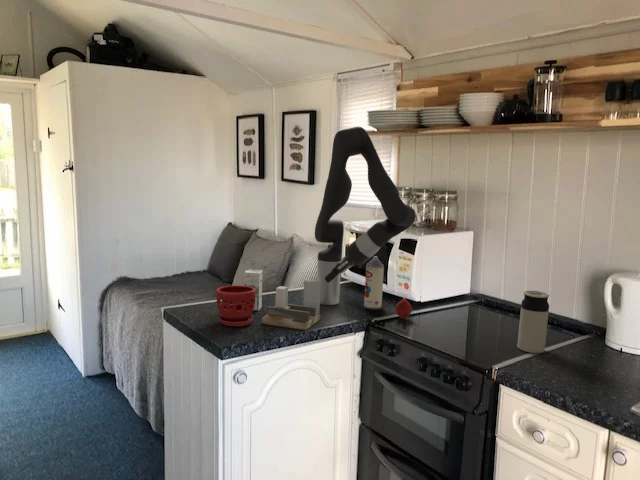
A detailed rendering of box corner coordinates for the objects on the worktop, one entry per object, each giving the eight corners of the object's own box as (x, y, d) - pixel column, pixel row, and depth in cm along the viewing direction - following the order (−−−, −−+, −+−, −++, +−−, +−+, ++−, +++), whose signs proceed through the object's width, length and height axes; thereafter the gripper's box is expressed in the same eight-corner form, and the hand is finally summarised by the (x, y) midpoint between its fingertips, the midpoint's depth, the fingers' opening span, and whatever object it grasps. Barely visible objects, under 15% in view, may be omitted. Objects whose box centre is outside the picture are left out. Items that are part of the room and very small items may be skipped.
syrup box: (261, 307, 204) (262, 269, 202) (258, 311, 198) (259, 272, 196) (247, 306, 204) (247, 268, 202) (243, 310, 198) (244, 271, 196)
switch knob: (277, 311, 191) (278, 285, 190) (290, 313, 190) (291, 287, 188) (272, 314, 187) (272, 288, 186) (285, 316, 186) (286, 289, 184)
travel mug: (516, 351, 166) (522, 294, 164) (517, 343, 174) (522, 289, 171) (544, 355, 163) (550, 297, 161) (543, 347, 171) (549, 292, 168)
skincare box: (319, 310, 202) (320, 279, 200) (319, 314, 198) (320, 281, 196) (303, 310, 202) (304, 278, 200) (302, 313, 198) (303, 281, 196)
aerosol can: (361, 305, 213) (364, 255, 210) (377, 304, 215) (380, 254, 212) (368, 309, 206) (370, 258, 203) (384, 308, 208) (387, 258, 205)
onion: (407, 322, 192) (408, 300, 191) (392, 319, 195) (393, 297, 194) (413, 318, 197) (414, 297, 195) (398, 315, 200) (400, 294, 198)
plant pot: (261, 320, 187) (262, 287, 185) (241, 331, 175) (242, 295, 173) (230, 315, 192) (230, 282, 190) (208, 324, 180) (208, 289, 178)
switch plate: (278, 313, 197) (279, 299, 196) (320, 319, 191) (320, 305, 191) (262, 323, 183) (262, 309, 183) (305, 330, 178) (306, 315, 178)
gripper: (361, 236, 182) (326, 268, 188) (350, 241, 169) (312, 275, 175) (376, 253, 181) (339, 284, 187) (366, 260, 169) (327, 293, 174)
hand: (326, 280), depth 181 cm, fingers closed
